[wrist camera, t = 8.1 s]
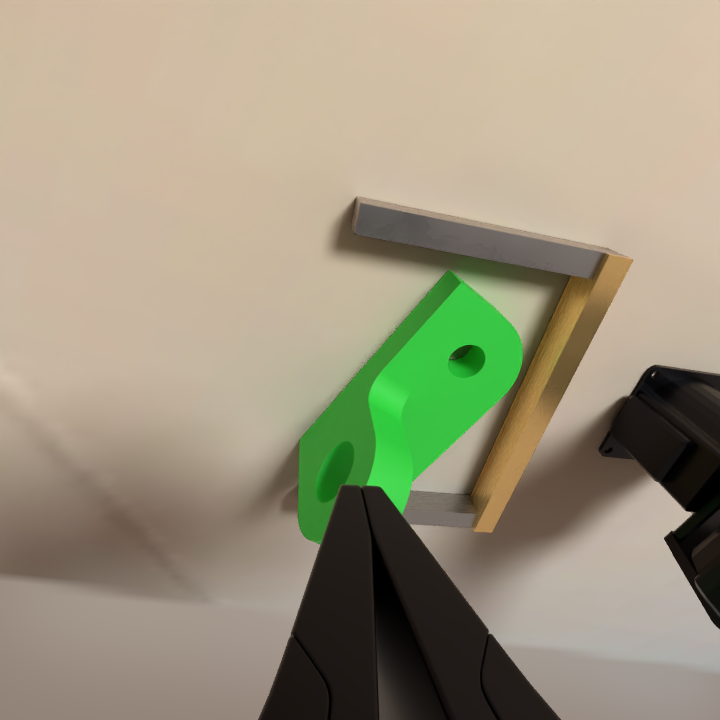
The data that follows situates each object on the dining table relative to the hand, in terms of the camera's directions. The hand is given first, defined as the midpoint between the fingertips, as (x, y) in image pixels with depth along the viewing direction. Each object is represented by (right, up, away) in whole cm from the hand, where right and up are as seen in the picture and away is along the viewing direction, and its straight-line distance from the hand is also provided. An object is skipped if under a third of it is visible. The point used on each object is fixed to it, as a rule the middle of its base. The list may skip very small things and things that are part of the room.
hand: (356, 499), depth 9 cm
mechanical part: (+3, +1, +14) cm, 15 cm away
